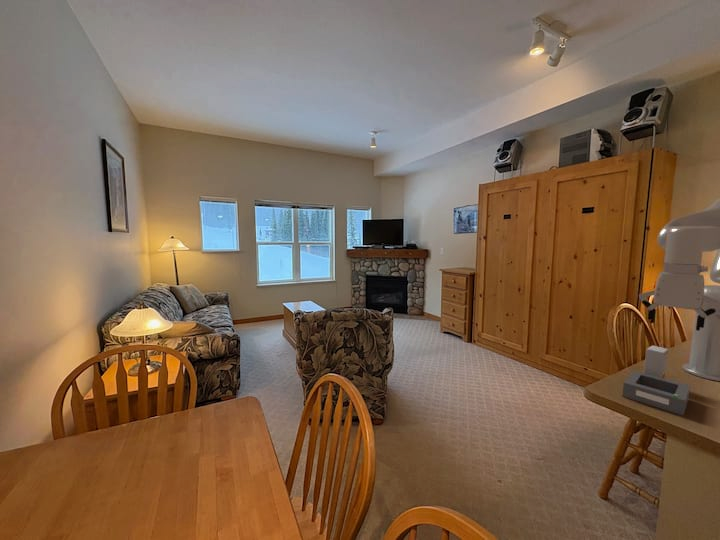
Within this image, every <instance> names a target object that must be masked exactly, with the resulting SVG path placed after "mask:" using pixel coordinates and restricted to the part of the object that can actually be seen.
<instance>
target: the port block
mask: <svg viewBox="0 0 720 540" xmlns="http://www.w3.org/2000/svg"><path fill="white" fill-rule="evenodd" d="M690 389H691V385H690V384H686V383H682V382H679V381H676V380H675V381H674V380H672V379H667V378H660V377H656V376H653V375H649V374H645V373H643V372H640V371H638V370H633V371H631V373H630V374H629V375H628V376H627V378H626V379H625V380H624V382H623V388H622V394H621V395H622V397H623V398H626V399H628V400H631V401H636V402H638V403H642V404H644V405H648V406H651V407H654V408H657V409H661V410H663V411H667V412H670V413H672V414H676V415H679V416H684V414H685V412H686V408H687V405H688V402H689V398H690V397H689V396H690Z"/></svg>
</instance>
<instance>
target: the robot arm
mask: <svg viewBox="0 0 720 540" xmlns="http://www.w3.org/2000/svg"><path fill="white" fill-rule="evenodd" d="M660 229H661V228H660ZM656 237H657V238H656V241H657V244H658V246H659V247H660V248H661V249H663V250H665V252H664V258H663V259H664V260H663V270H662V272H661V271H660V272H659V273H658V277H657V280H656V284H655V289H654V290H651V291H646V292H643V293H639V294H638V298H639V300H640V301H641V304H642V305H643V306H644V307H646V308H647V310H648V315H647V320H649V323H650V324H654V323H655V321H656V313H657V310H656V308H657V307H659V306H661V307H669V308H675V309H676V308H677V309H682V310H683V309H684V310H693V311H695V314H694V315H695V316H694V317H695V318H694V323H693V324H694V325H693V332H692V340H691V341H692V342H691V348H690V355H689V360H688V361H689V362H687V363H683V364H682V367H681V368H682V369H683V371H685V372H687V373H689V374H691V375H693V376H696V377H700V378H703V379H707V380H712V381H718V382H720V197H719V198H718V199H716V200H715V201H714V202H713V203H711V204H710V205H709V206H708V207H707V208H705V209H704V210H701V211H697V212H694V213H691V214H688V215H684V216H683V215H682V216H680V217H677V218H674V219H672V220H671V221H669V222H667V223H666V224H665V225H664V226H663V227H662V229H661V230H660V231H659V232H658V234H657V236H656ZM716 251H717V252H716ZM703 252H705V253H706V252H709V253H710V252H716V254H715V257H714V260H713V262H712V264H711V268H710V272H709V271H708V270H709V267H708V266H705V265H702V259H703ZM703 272H705V273H706V272H709V278H710V280H711V281H712V283H715V284H707V285H705V278H704V275H703V274H701V273H703ZM717 284H718V285H717ZM651 296H653V303H651V302H650V301H649V300H647V297H651Z"/></svg>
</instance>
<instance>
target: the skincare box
mask: <svg viewBox="0 0 720 540" xmlns="http://www.w3.org/2000/svg"><path fill="white" fill-rule="evenodd" d="M668 356H669V348H665V347H660V346H657V345H651V346H649V347H648V348H646V350H645V359H644V364H643V365H644V367H643V372H642V373H645V374H649V375H653V376H656V377H660V378H664V379H666V378H665V377H666V372H667V371H666V370H667V362H668Z"/></svg>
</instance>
